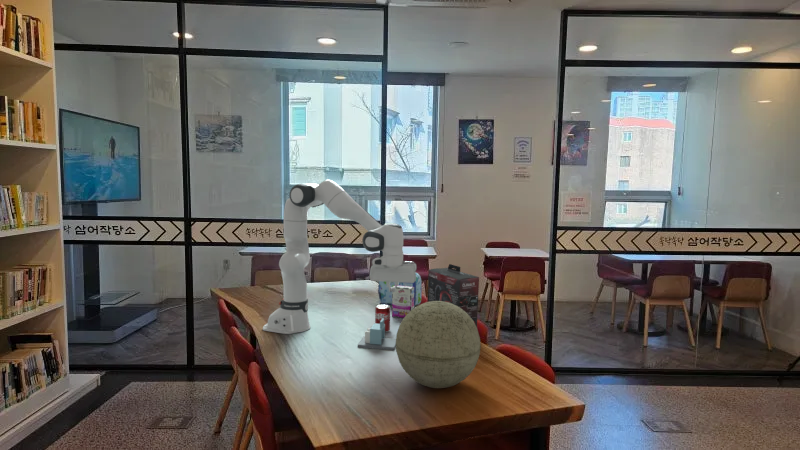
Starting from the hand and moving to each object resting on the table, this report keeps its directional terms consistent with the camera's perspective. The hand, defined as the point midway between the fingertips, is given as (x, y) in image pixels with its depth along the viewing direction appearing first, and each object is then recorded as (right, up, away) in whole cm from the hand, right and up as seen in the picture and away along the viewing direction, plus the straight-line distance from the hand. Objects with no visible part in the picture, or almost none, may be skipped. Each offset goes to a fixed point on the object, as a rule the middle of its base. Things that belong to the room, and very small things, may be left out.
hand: (392, 291), depth 201 cm
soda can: (-5, -22, +22) cm, 32 cm away
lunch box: (+3, -18, +69) cm, 72 cm away
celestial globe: (+16, -28, -36) cm, 48 cm away
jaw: (-9, -23, +4) cm, 25 cm away
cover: (-7, -22, +3) cm, 23 cm away
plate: (-6, -24, +3) cm, 25 cm away
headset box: (+28, -23, +20) cm, 41 cm away
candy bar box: (+5, -20, +46) cm, 50 cm away
